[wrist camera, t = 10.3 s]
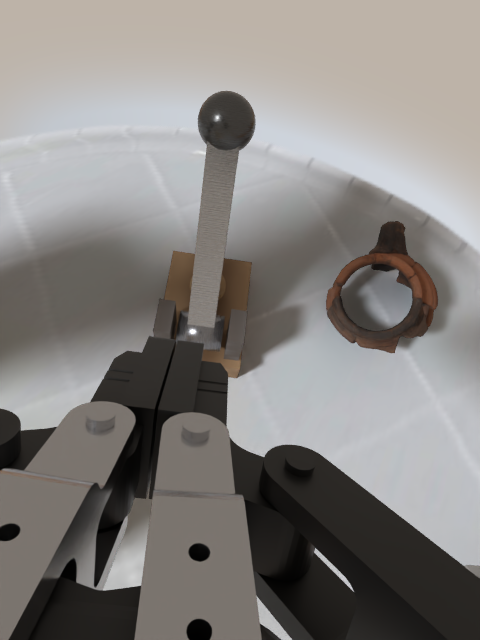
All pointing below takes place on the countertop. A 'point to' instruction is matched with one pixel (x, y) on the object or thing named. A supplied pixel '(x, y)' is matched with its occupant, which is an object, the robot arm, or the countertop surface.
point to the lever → (215, 212)
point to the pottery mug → (411, 274)
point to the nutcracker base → (229, 305)
